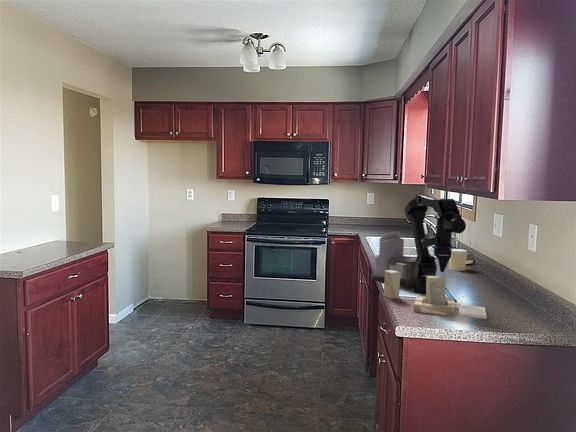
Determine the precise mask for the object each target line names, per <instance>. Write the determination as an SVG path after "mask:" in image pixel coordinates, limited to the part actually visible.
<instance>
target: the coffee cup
mask: <svg viewBox="0 0 576 432" xmlns="http://www.w3.org/2000/svg"><path fill="white" fill-rule="evenodd" d="M467 255H468V251H467V250H466V249H462V248H461V249H460V248H452V251H451V257H450V259H449V261H448V269H449V270H451V271H457V272H459V271H460V272H463V271H466V267H467V266H466V263H467Z"/></svg>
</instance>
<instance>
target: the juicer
mask: <svg viewBox="0 0 576 432" xmlns="http://www.w3.org/2000/svg"><path fill="white" fill-rule="evenodd" d="M404 247H405V239H404V238H402V237H401V232H400V231H391V232H389V233H386V234H383V236H381V237H380V238H379V252H378V255H377V256H376V257H375V258H374V272H373V273H371V279H373V280H374V281H378V282H383V283H384V279H385V270H394V271H398V272H400V287H399V288H402V287H403V289H406V290H415V288H416V278H414V277H412V275H411V271H412V270H413V268H414V266H415V260H416V258H413V257H410V256H406V255H405V256H404V250H405V249H404Z"/></svg>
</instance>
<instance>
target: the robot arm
mask: <svg viewBox="0 0 576 432" xmlns="http://www.w3.org/2000/svg"><path fill="white" fill-rule="evenodd" d="M429 208H432V209H433V211H434V212H435V213H437V214H435V216H434V219H436V230H435V232H436V233H435V235H433V236H430V237H428V236H426V231H425V225H424V221H425V218H426V213H427V211H428V210H429ZM460 213H461V212H460V210H459V208H458V206H457V203H456V201H455V199H454V198H438V197H434V196H431V195H430V196H429V195H428V194H417V195H416V196H415V197H414V198H413V199H412V200H410V201H409V202H407V204H406V206H405V208H404V214H405V217H406V220H407V221H408V223H410V224H411V227H412V235H413V238H414V246H415V250H416V257H415V259H416V260H415V266H414V268H413V270H412V271H411V275H412V277H414V278H416V288H415V289H413V290H414V291H413V292H414V293H420V294H426V277H427V276H437V275H436V274H437V270H438V267H437V263H436V258H437V260H438V265H439V271H440V273H444V272H445V270H446V268H447V266H448V265H449V259H450V257H451V251H452V249H453V248H452V247H453V245H452V240H453V239H452V236H453V233H455V234H462V233H463V232H464V231H465V230H466V228H467V224H466V221H465V220H464V219H463V218H462V214H460ZM432 246H434V249H433V254H434V255H431V254H430V252H429V247H432Z"/></svg>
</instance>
